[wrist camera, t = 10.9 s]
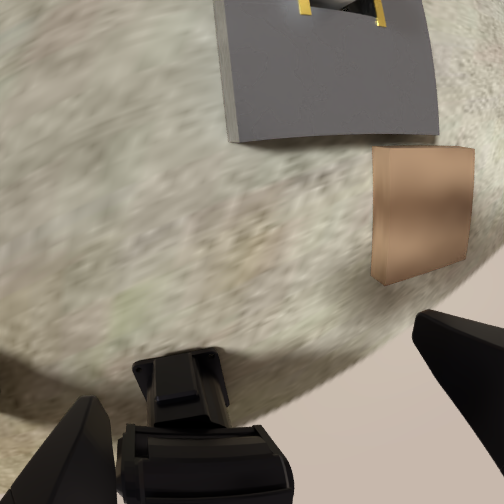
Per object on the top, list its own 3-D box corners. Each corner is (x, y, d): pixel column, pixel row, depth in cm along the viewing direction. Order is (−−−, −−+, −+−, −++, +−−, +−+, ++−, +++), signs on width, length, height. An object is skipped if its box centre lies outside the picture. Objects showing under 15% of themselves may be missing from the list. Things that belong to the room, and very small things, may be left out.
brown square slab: (451, 251, 26) (465, 259, 24) (370, 275, 24) (384, 286, 22) (457, 146, 22) (474, 149, 20) (372, 146, 20) (389, 148, 18)
